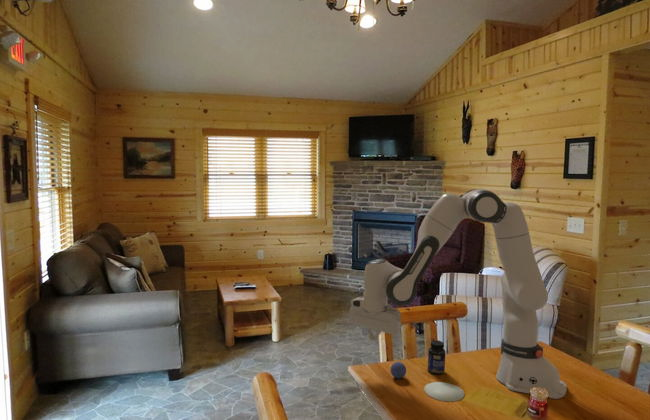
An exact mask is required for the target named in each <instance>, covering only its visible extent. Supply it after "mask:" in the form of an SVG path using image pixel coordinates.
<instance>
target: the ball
mask: <svg viewBox="0 0 650 420" xmlns="http://www.w3.org/2000/svg"><path fill="white" fill-rule="evenodd" d="M390 373H391V375H392V376H393V377H394V378H396V379H402V378H404V377H405V376H406V374H407V368H406V365H405V364H404V363H403V362H400V361H397V362H393V363H392V364H391V366H390Z"/></svg>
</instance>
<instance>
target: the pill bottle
mask: <svg viewBox="0 0 650 420" xmlns="http://www.w3.org/2000/svg"><path fill="white" fill-rule="evenodd" d="M444 347H445V343H444V342H443V341H441V340H436V339H435V340H431V341H430V347H428V351H427V353H428V356H427V372H429V373H430V374H432V375H435V376H438V375H439V376H440V375H443V374H444V373H445V369H446V367H445V366H446V350H445V349H444Z"/></svg>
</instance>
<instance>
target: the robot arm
mask: <svg viewBox="0 0 650 420" xmlns="http://www.w3.org/2000/svg"><path fill="white" fill-rule="evenodd" d="M467 218H470V219H472V220H473V221H478V222H480V223H488V224H489V223H490V224H491V226H492V228H493V232H494V233H493V234H494V238H495V243H496V248H497V252H498V258H499V261H500V263H501V266H502V268H503V270H504V272H503V274H502V275H501V279H500V282H501V284H500V285H501V291H502V293H501V297H502V307H503V308H502V309H503V332H502V333H503V334H502V335H503V336H502V339H501V341H500V354H501V356H500V362H499V366H498V369H497V373H496V375H495V377H496V379H497V380H498V381H499V382H500V383H502V384H503V385H505V387H506V388H507V389H509V390H510V391H513V392H518V393H524V394H528V395H530V394H529V392H530V389H531V388H533V387H542V388H545V389H546V390H547V391H548V395H549V399H555V400H559V399H561V398H563V397H565V396H566V395H567V390H568V389H567V388H568V387H567V385H566V383H565V382H564V381H563V380H561V379H560V373H559V370H558V368H557V367H556V366H555V365H554V364H553V363H551V362H550V361H549V360H548V359H547V358H546V357H545V356H544V345H539V343H538V333H539V332H538V331H539V319H538V316H537V310H540V309H542V308H544V306H545V305H546V304H547V302H548V300H549V293H548V290H547V288H546V286H545V282H544V279H543V277H542V274H541V271H540V268H539V265H538V263H537V260H536V258H535V257H536V256H535V254H534V251H533V245H532V240H531V236H530V230H529V226H528V223H527V220H526V217H525V215H524V211H523V209H522V208H521V206H520V205H519V204H517V203H514V202H504V201H503V200H502V199H501V198H500V197H499V196H498V195H497V194H496V193H495V192H493V191H491V190H488V189H485V188H476V189H471V190H468V191H466V192H465V193H463V194H460V195H457V194H454V193H451V192H450V193H444V194H442V195H441V196H440V197H439V198H438V199H437V200H436V201H435V202H434V204H433V205H432V206H431V208H429V210H428V212H427V214H426V215H425V216H424V218H423V219H422V221H421V224H420V226H419V228H418V232H417V241H416V242H417V243H416V247H415V249H414V251H413V254H412V256H410V259H409V260H408V262H407V264H406V266H405V267H404V269H403V268H400V267H398V266H395V265H393V264H392V263H390V262H389V261H388V260H387V259H382V258H377V259H372V260H370V261H368V262H367V263H366V265H365V268H364V273H363V275H364V276H363V286H364V291H363V295H362V296H359V297H358V296H357V297H356V298H354V299H351V301H350V308H349V311H348V321H349V323H350V324H351V325H356V326H360V327H364V328H366V333H367V334H368V340H369V341H373V342H378V341H379V336H380V335H381V333H385V334H386V333H387V334H390V335H394V336H396V335H398V334H400V332H401V330H402V322H401V317H402V313H401V311H400V310H398V308H396V307H391V306H388V300H389V302H391V303H392V304H394V305H396V306H399V307H402V306H408V305H410V304H412V302H413V301H414V300H415V299H416V296H417V293H418V286H419V283H420V280H421V279H422V278H423V276H424V273H425V272H426V271H427V269H428V267H429V266H430V264H431V263H432V261H433V259H434V257H436V256H437V254H438V253H439V251H441V249H442V247H443V246H445V244H446V243H447V241H449V239H450V238H451V236H452V235H453V233H454V232H455V230H456V229H457V227H458V226H459V224H460V223H461V222H462V221H463V220H464V219H467ZM372 330H373V331H374V330H375V334H374V333H373V331H372Z"/></svg>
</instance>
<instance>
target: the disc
mask: <svg viewBox="0 0 650 420" xmlns="http://www.w3.org/2000/svg"><path fill="white" fill-rule="evenodd" d="M423 391H424V392H425V393H426V395H427V396H429V397H430V398H431V399H435V400H436V401H442V402H450V403H451V402H458V401H461V400H463V398H465V392H464V390H463V389H462V388H461V387H459V386H458V385H455V384H453V383H449V382H443V381H432V382H431V383H427V384H426V385H425V386H424V390H423Z"/></svg>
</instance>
